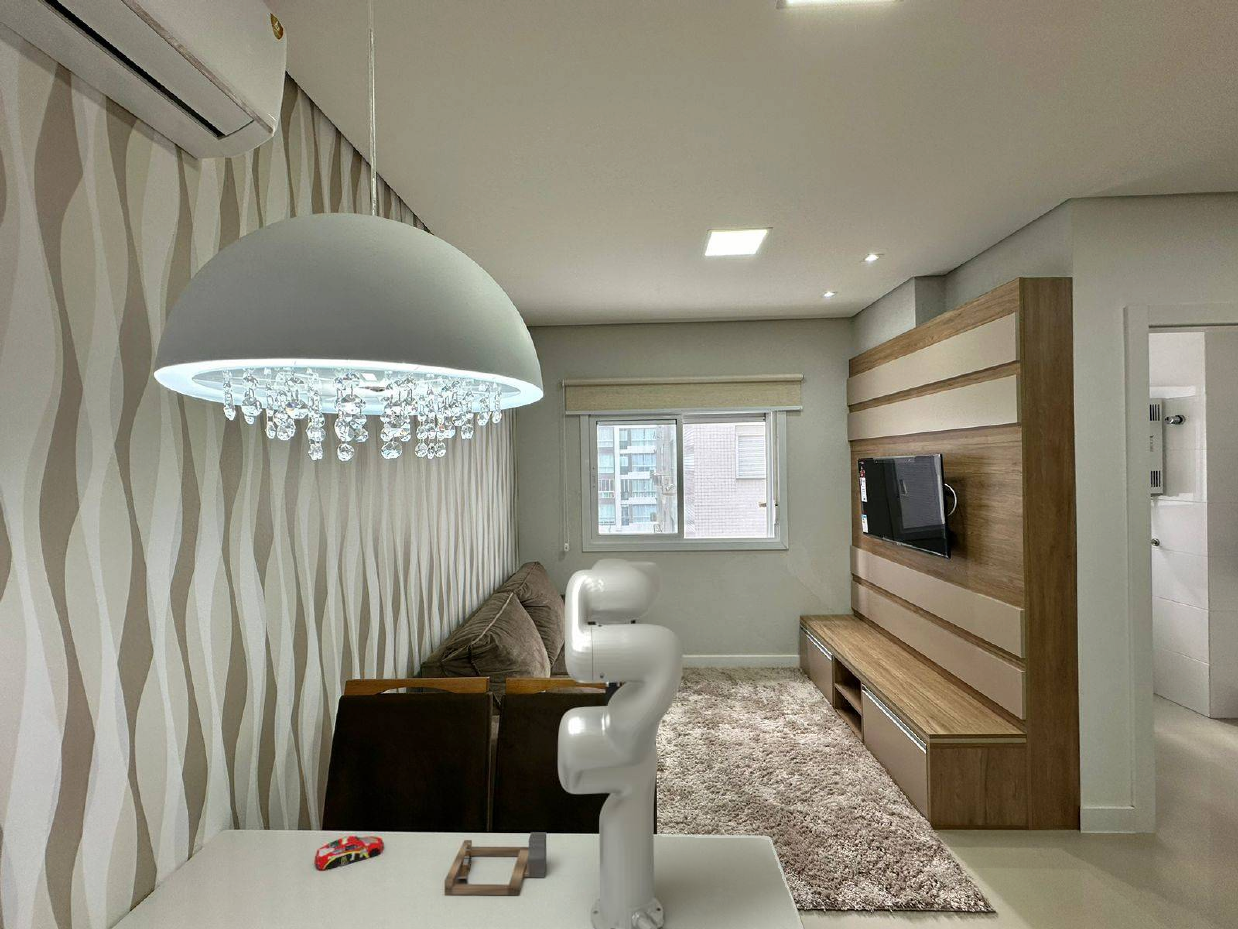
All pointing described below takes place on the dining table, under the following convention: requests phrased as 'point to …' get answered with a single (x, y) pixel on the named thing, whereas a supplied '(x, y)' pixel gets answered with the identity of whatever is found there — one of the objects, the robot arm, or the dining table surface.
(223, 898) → the dining table surface
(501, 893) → the brown hollow square frame
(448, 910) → the dining table surface
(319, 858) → the race car
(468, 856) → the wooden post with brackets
